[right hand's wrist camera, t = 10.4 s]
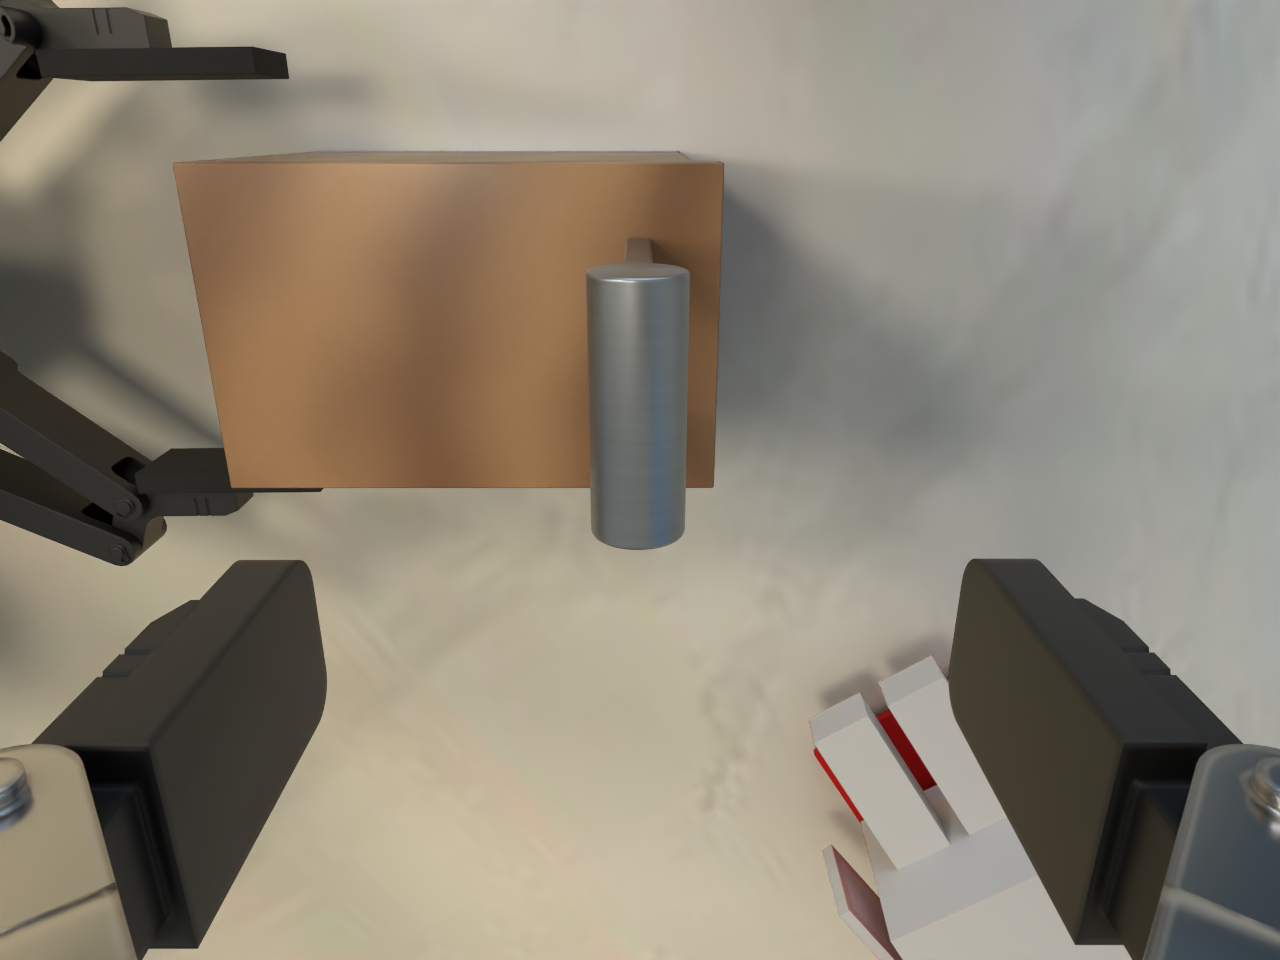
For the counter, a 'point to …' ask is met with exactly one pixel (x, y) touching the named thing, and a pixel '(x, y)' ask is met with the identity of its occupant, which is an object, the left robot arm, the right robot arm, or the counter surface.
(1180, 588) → the counter surface
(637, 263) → the lid
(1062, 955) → the toy
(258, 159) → the chest
